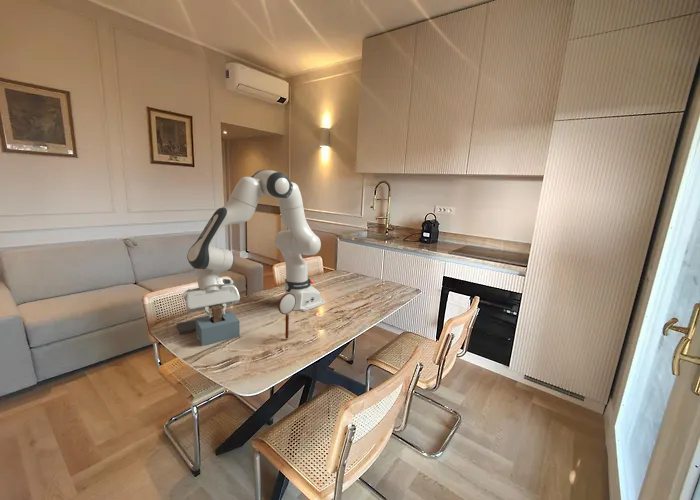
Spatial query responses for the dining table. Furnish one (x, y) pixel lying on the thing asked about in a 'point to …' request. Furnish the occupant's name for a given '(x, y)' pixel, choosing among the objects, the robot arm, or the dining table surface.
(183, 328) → the pad
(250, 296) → the dining table surface
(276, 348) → the dining table surface
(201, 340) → the box
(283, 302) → the magnifying glass
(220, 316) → the upright wooden post
